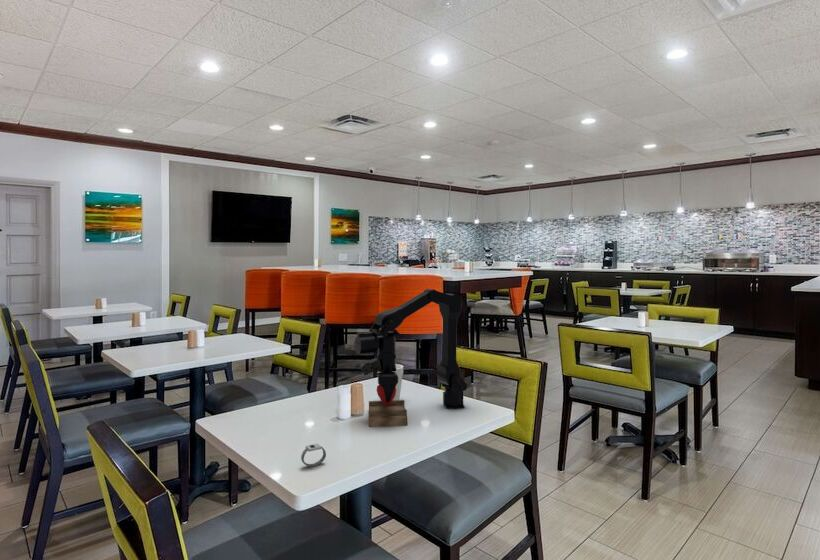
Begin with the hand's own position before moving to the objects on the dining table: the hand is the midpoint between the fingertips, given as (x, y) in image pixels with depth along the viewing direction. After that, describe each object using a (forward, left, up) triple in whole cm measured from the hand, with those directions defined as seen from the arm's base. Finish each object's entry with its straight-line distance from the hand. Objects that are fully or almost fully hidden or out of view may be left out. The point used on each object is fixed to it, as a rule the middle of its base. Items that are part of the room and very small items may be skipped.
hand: (387, 398), depth 155 cm
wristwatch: (+20, +34, -7) cm, 40 cm away
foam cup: (-2, -17, -7) cm, 18 cm away
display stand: (0, 0, -6) cm, 6 cm away
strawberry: (0, 0, -3) cm, 3 cm away
